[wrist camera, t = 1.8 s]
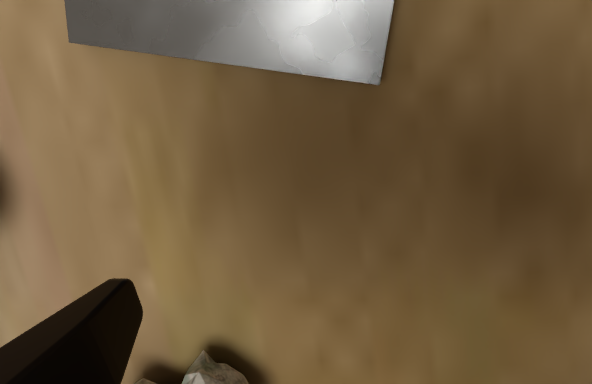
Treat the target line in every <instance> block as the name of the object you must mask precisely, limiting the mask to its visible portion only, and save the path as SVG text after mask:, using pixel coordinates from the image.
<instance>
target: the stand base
mask: <svg viewBox="0 0 592 384" xmlns="http://www.w3.org/2000/svg"><path fill="white" fill-rule="evenodd" d="M394 2H395V0H65V9H66V18H67V28H68V37H69V42H70V43H77V44H84V45H91V46H99V47H106V48H113V49H120V50H128V51H135V52H142V53H150V54H157V55H164V56H171V57H179V58H186V59H193V60H201V61H208V62H215V63H222V64H230V65H237V66H244V67H252V68H259V69H266V70H273V71H281V72H288V73H295V74H303V75H310V76H317V77H324V78H332V79H339V80H346V81H353V82H361V83H368V84H375V85H379V84H380V81H381V76H382V70H383V64H384V59H385V53H386V47H387V41H388V36H389V30H390V24H391V19H392V13H393V7H394Z"/></svg>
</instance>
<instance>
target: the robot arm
mask: <svg viewBox="0 0 592 384" xmlns="http://www.w3.org/2000/svg"><path fill="white" fill-rule="evenodd" d="M142 317H143V310H142V306H141V303H140V300H139V297H138V295H137V292H136V289H135V286H134V284H133V282H132V281H131V280H130V279H116V278H114V279H109V280H107V281H106V282H104V283H102V284H101V285H99V286H98V287H96V288H94V289H93V290H91V291H90V292H88V293H87V294H85V295H83V296H82V297H80V298H79V299H77V300H75V301H74V302H72V303H71V304H69V305H67V306H66V307H64V308H63V309H61V310H59V311H58V312H56V313H55V314H53V315H51V316H50V317H48V318H47V319H45V320H44V321H42V322H40V323H39V324H37V325H36V326H34V327H32V328H31V329H29V330H28V331H26V332H24V333H23V334H21V335H20V336H18V337H16V338H15V339H13V340H12V341H10V342H9V343H7V344H5V345H4V346H2V347H1V348H0V384H121V381H122V379H123V376H124V373H125V370H126V367H127V364H128V361H129V357H130V354H131V351H132V348H133V345H134V342H135V339H136V336H137V333H138V330H139V327H140V324H141V321H142Z"/></svg>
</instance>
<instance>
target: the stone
mask: <svg viewBox="0 0 592 384" xmlns="http://www.w3.org/2000/svg"><path fill="white" fill-rule="evenodd" d="M134 384H157V383H154V382H152V381H149V380H147V379H144V378H143V379H141V380H139V381H138V382H136V383H134ZM182 384H249V383H248V382H247V380H246V378H245V377H244V375H243V374H242V373H240V372H238V371H237V370H235V369H234V368H232V367H230V366H229V365H227V364H224V363H215V361H214V360H213V359H212V358H211V357H210V356H209V355H208V354H207V353H206V352H205V351H204V350H203V351H202V352H201V354H200V355H199V356H198V357H197V359H196V360H195V361H194V362H193V364H192V365H191V366H190V367H189V369H188V371H187V373H186V375H185V377H184V380H183V382H182Z"/></svg>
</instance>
